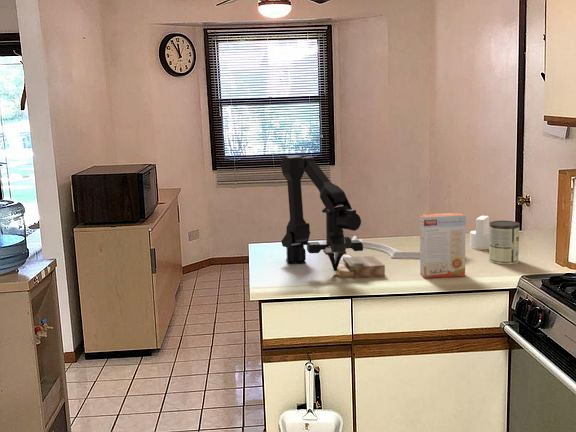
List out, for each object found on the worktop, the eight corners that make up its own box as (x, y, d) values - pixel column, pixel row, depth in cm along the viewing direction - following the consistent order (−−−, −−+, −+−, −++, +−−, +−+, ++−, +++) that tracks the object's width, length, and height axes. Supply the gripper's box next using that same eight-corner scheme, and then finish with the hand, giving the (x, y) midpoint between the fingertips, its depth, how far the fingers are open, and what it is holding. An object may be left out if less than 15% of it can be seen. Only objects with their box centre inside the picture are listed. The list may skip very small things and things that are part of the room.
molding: (429, 259, 232) (430, 251, 231) (406, 264, 225) (406, 256, 225) (357, 240, 267) (357, 234, 266) (335, 244, 260) (335, 237, 259)
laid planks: (351, 278, 206) (351, 267, 206) (342, 267, 220) (342, 257, 219) (384, 276, 208) (384, 265, 207) (374, 266, 221) (374, 255, 221)
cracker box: (459, 272, 210) (461, 211, 206) (465, 276, 204) (466, 215, 200) (419, 273, 210) (419, 213, 206) (423, 278, 204) (424, 216, 200)
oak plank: (333, 269, 220) (333, 263, 220) (346, 269, 221) (346, 262, 220) (339, 278, 208) (339, 272, 208) (354, 277, 209) (354, 271, 208)
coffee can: (487, 257, 229) (488, 220, 226) (517, 258, 226) (518, 220, 224) (489, 264, 219) (490, 225, 217) (519, 265, 216) (521, 226, 214)
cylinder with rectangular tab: (490, 250, 239) (491, 220, 237) (467, 248, 244) (467, 218, 242) (495, 245, 247) (496, 216, 245) (473, 243, 251) (474, 215, 249)
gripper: (311, 232, 201) (312, 278, 204) (366, 229, 203) (367, 275, 206) (306, 226, 212) (307, 269, 215) (359, 223, 214) (359, 267, 217)
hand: (335, 270), depth 213 cm, fingers closed
